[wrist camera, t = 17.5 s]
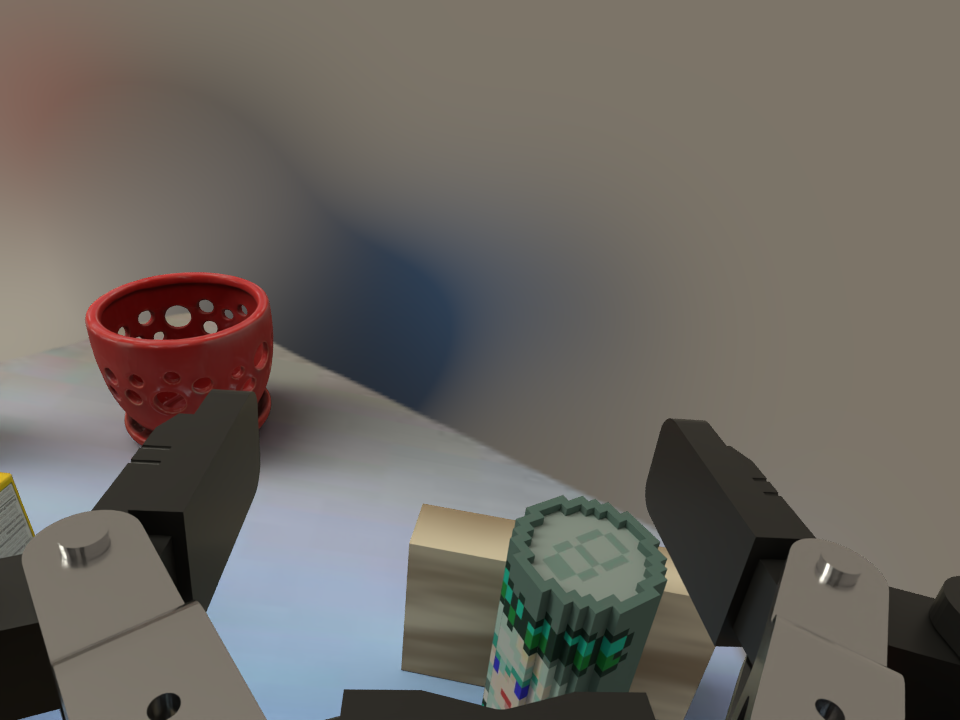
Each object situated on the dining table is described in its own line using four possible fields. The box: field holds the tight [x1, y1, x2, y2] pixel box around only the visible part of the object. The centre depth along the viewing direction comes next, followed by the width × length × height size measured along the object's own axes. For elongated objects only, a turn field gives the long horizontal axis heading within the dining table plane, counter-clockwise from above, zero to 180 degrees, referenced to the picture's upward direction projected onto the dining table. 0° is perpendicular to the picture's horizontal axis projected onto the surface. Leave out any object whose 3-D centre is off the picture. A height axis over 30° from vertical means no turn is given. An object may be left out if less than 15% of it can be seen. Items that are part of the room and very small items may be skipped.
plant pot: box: [85, 272, 273, 445], centre depth 51 cm, size 13×13×12 cm
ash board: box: [401, 504, 716, 720], centre depth 34 cm, size 3×16×10 cm, turn 82°
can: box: [482, 495, 668, 709], centre depth 28 cm, size 6×6×15 cm
